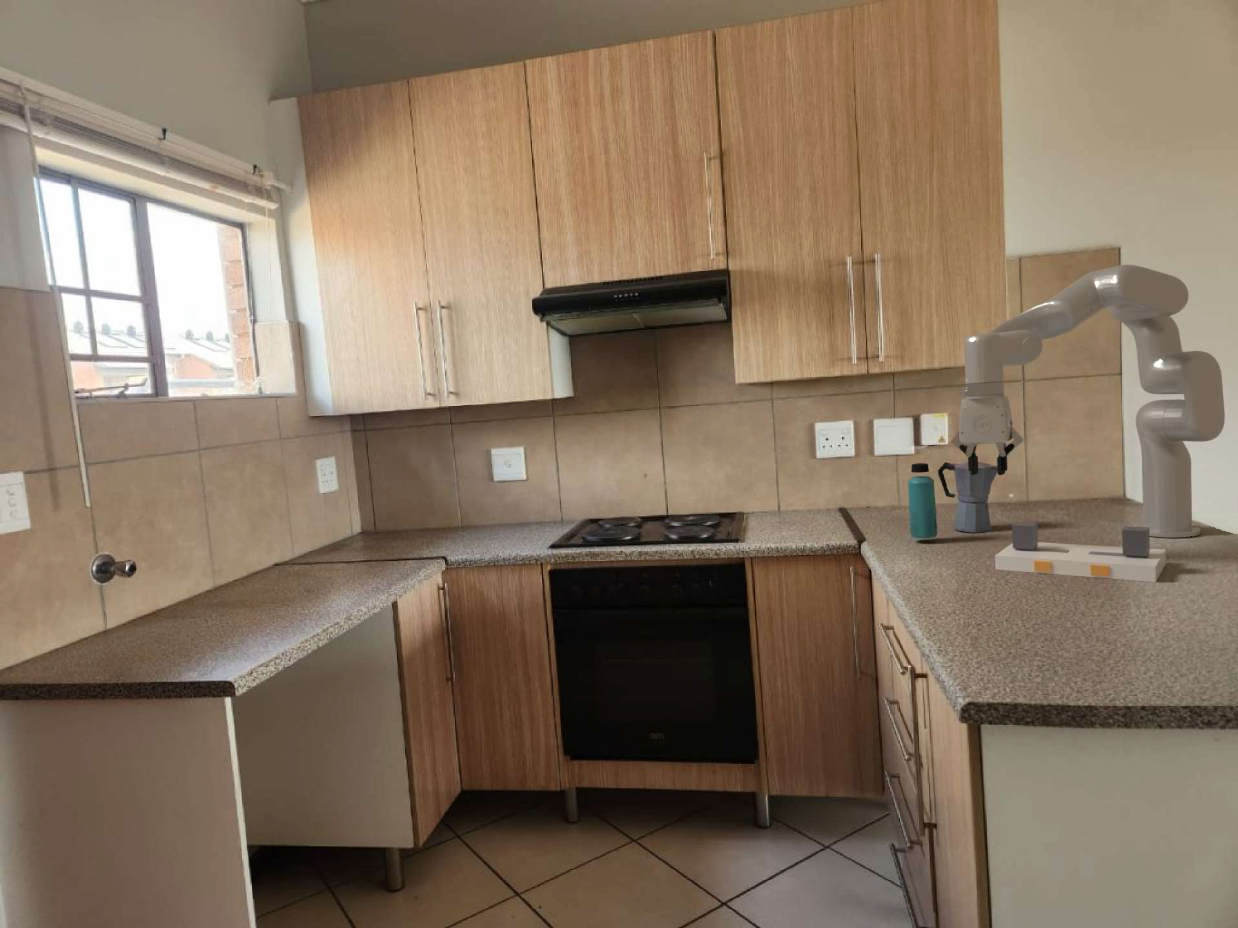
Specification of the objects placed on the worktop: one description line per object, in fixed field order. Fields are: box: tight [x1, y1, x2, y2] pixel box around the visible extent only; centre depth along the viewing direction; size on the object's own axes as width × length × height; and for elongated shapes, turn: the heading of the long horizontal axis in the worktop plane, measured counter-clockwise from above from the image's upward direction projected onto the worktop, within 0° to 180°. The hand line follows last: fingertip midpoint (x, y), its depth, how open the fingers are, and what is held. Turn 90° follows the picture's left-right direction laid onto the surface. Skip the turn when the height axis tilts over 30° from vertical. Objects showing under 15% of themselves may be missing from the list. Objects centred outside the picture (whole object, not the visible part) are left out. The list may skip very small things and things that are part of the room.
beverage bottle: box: [907, 462, 939, 539], centre depth 195 cm, size 6×7×20 cm
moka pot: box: [937, 461, 998, 534], centre depth 205 cm, size 10×15×20 cm, turn 58°
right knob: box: [1121, 525, 1151, 556], centre depth 154 cm, size 4×4×5 cm
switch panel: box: [994, 541, 1167, 583], centre depth 161 cm, size 16×28×3 cm, turn 49°
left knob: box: [1011, 521, 1039, 549], centre depth 167 cm, size 4×4×5 cm
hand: (987, 473), depth 170 cm, fingers open, 4 cm apart
